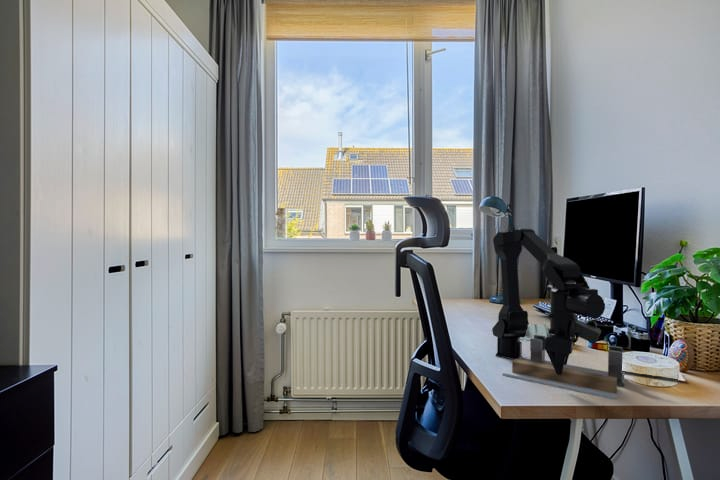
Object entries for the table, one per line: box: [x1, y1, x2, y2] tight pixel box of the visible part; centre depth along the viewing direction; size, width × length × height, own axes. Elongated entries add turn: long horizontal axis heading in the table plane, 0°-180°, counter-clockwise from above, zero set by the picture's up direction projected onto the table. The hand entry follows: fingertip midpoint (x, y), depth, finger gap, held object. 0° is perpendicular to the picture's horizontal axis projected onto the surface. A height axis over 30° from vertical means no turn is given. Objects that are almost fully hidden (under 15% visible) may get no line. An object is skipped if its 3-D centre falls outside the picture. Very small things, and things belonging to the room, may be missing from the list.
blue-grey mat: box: [502, 365, 617, 400], centre depth 101 cm, size 26×7×1 cm, turn 55°
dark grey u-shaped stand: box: [529, 335, 625, 387], centre depth 107 cm, size 23×7×8 cm, turn 55°
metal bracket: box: [520, 321, 553, 342], centre depth 144 cm, size 14×6×15 cm
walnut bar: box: [511, 358, 618, 395], centre depth 100 cm, size 24×3×3 cm, turn 55°
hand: (561, 369), depth 100 cm, fingers open, 9 cm apart
